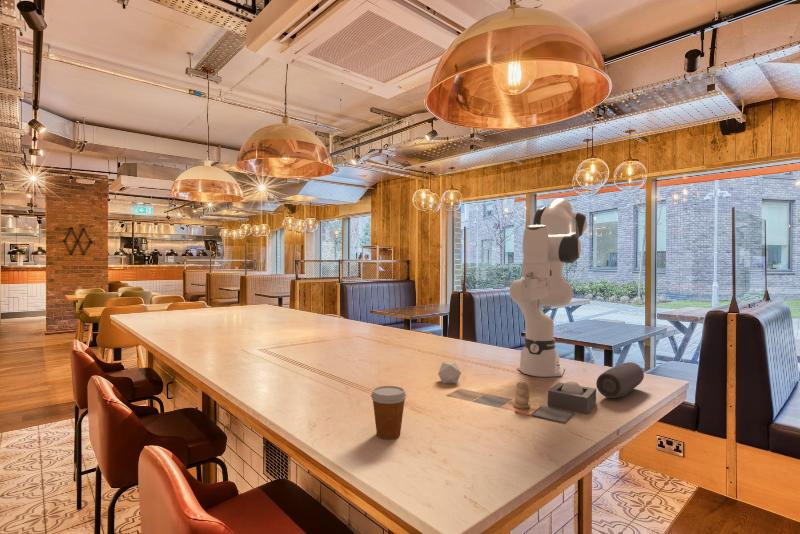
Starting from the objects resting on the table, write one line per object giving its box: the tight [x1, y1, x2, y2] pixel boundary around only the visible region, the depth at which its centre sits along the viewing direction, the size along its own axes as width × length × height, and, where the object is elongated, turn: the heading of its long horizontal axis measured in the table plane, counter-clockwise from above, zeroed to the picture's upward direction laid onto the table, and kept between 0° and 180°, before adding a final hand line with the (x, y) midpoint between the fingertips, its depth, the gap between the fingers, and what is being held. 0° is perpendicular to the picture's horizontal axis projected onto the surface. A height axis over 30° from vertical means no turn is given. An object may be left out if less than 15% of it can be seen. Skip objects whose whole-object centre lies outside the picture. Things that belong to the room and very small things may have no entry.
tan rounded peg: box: [513, 380, 531, 409], centre depth 140 cm, size 5×5×8 cm
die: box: [437, 361, 462, 384], centre depth 166 cm, size 8×9×10 cm
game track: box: [445, 388, 575, 425], centre depth 142 cm, size 10×40×1 cm, turn 54°
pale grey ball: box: [561, 381, 584, 395], centre depth 143 cm, size 7×7×7 cm
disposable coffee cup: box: [370, 385, 407, 440], centre depth 118 cm, size 10×10×12 cm
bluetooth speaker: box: [596, 362, 645, 399], centre depth 155 cm, size 23×9×10 cm, turn 134°
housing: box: [547, 382, 597, 415], centre depth 143 cm, size 12×12×5 cm
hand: (535, 312), depth 151 cm, fingers closed
